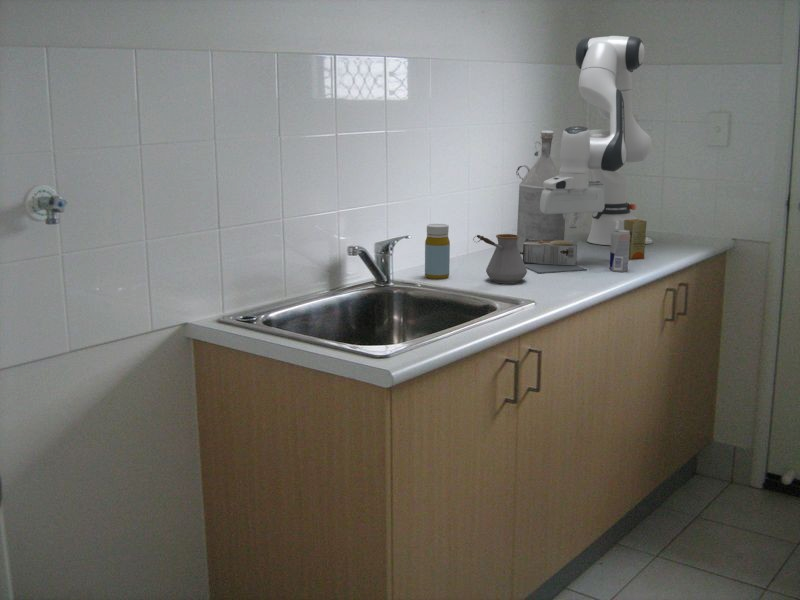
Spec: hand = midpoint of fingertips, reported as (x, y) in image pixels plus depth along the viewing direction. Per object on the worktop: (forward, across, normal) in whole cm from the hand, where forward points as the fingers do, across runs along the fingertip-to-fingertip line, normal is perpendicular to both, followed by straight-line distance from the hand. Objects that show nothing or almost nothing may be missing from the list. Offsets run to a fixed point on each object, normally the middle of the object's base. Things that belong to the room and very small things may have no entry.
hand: (571, 227), depth 268 cm
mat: (+12, +6, 0) cm, 13 cm away
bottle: (+12, +44, +4) cm, 46 cm away
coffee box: (+8, -3, -1) cm, 9 cm away
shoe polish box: (+12, -26, -6) cm, 29 cm away
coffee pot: (+12, +31, +17) cm, 38 cm away
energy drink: (+12, -11, +10) cm, 19 cm away
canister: (+12, -1, -23) cm, 26 cm away
